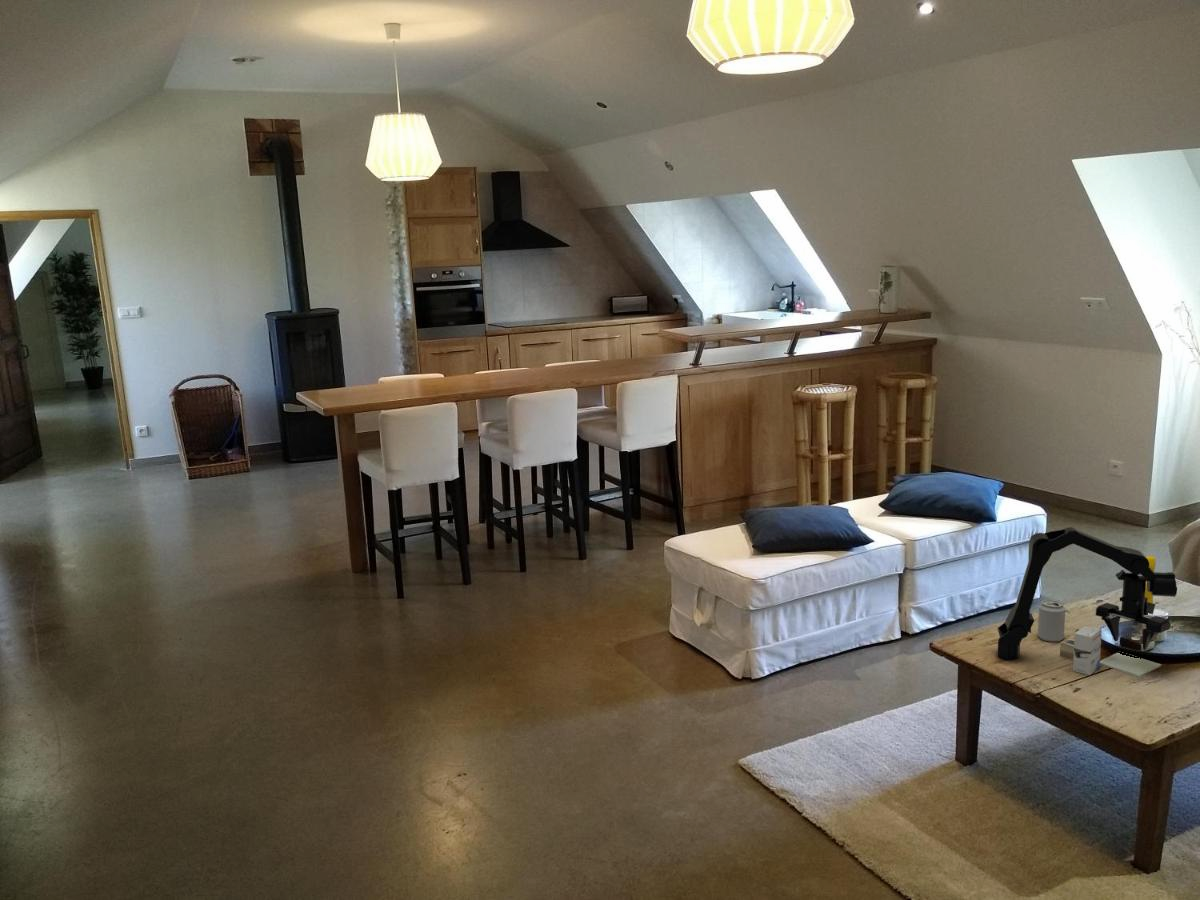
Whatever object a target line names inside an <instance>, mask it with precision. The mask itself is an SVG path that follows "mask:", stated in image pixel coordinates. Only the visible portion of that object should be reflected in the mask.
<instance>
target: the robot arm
mask: <svg viewBox="0 0 1200 900" xmlns="http://www.w3.org/2000/svg"><path fill="white" fill-rule="evenodd" d="M1070 545H1075V546H1078V547H1080V548H1083V549H1084V550H1087V551H1090V552H1092V553H1094V554H1097V555H1099V556H1102V557H1104V558H1106V559H1109V560H1111V561H1112V562H1114V563H1116V564H1117V565H1118V566H1121V568H1123V569H1121V570H1120V571H1119V572H1117V573H1115V577H1116V578H1117V580H1119V581H1122V594H1121V595H1122V596H1120V597H1119V601H1120V602H1121V609H1120V607H1119V605H1116V604H1112V603H1108V602H1105V603H1102V604H1101V605H1098V606H1096V608H1095V616H1097V617H1100V618H1101V620H1103V622H1104V623H1105V624H1106V626H1107V627H1108V630H1109V631H1110V633H1111V637H1112V638H1113V640H1114V642H1118V641H1119V635H1120V634H1119V633H1120V632H1119V631H1120V628H1119V627H1120V620H1121V618H1122V619H1125V620H1127V621H1128V620H1130V621H1132V622H1136V623H1139V624H1144V625H1145V628H1144V629H1142V650H1143V651H1145V650H1146V651H1147V649H1148V647H1149V645H1150V644H1151V641H1152V640H1153V637H1154V636H1155V634H1157V633H1158V634H1161V633H1164V632H1166V631H1168V630H1170V629H1171V622H1170V620H1169V619H1168V618H1165V617H1163V616H1162V617H1161V616H1159V615H1155V616H1153V617H1150V618H1149V617H1148V618H1146V617H1144V615H1148V613H1149V615H1154V611H1155V607H1156V604H1155V603H1154V602H1153V603H1149V602H1147V601H1148V599H1147V597H1145V590H1146V581H1147V591H1148V592H1151V594H1152V595H1153V597H1154V596H1155V597H1169V598H1170V597H1174V598H1175V597H1176V596H1177V593H1178V587H1177V580H1176V574H1175V573H1174V572H1172V571H1171V572H1157V571H1154V572H1153V571H1152V569H1151V568H1149V561H1148V559H1147V558H1146V555H1144V553H1143V552H1141V551H1140V550H1139V549H1138V550H1137V549H1134V548H1130V547H1125V546H1118V545H1115V544H1112V543H1109V542H1107V541H1106V540H1105V541H1104V540H1102V539H1099V538H1097V537H1096V536H1095V537H1094V536H1092V535H1090V534H1088V533H1085V532H1083V531H1080V530H1079V529H1076V528H1075V527H1066V528H1062V529H1057V530H1050V531H1047V532H1037V533H1034V534H1032V535H1031V536H1030V538H1029V542H1028V562H1027V565H1026V568H1025V572H1024V575H1023V579H1022V583H1021V585H1020V588H1019V592H1018V596H1017V598H1016V602H1015V604H1014V606H1013V607H1012V608H1011V609H1010V611H1009V613H1008V615H1007V617H1006V619H1005V622H1003V623H1002V624H1000V626H998V627H997V628H996V629H997V632H998V635H999V637H998V640H997V658H998V659H1001V660H1005V661H1016V660H1019V658H1020V654H1021V653H1020V651H1021V643H1022V640H1023V639H1025V638H1027V637H1028V635H1029V634H1032V627H1033V625H1034V623H1035V619H1034V617H1033V614H1032V613H1031V608H1032V605H1033V601H1034V597H1035V595H1036V591H1037V589H1038V584H1039V582H1040V578H1041V574H1042V572H1043V569H1044V567H1045V566H1046V564H1047V563H1048V562H1049V561H1050V558H1051V557H1052V555H1053V553H1055V552H1058V551H1061V550H1063V549H1065V548H1066V547H1068V546H1070ZM1125 570H1126V571H1128V572H1126V571H1125Z"/></svg>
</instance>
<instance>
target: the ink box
mask: <svg viewBox="0 0 1200 900" xmlns="http://www.w3.org/2000/svg"><path fill="white" fill-rule="evenodd" d="M1102 630H1103V629H1102V628H1099V627H1094V626H1089V625H1084V626H1082V627H1081V628H1080V629H1079V630H1077V631H1076V632H1074V639H1073V640H1074V657H1073V660H1072V671H1073V672H1075V673H1076V672H1077V673H1079V674H1083V675H1086V676H1091V675H1092V674H1093V673H1094V672H1095V671H1097V669H1098V668H1100V666H1101V664H1100V661H1101V648H1102V647H1101V646H1102Z"/></svg>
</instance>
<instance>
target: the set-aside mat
mask: <svg viewBox="0 0 1200 900" xmlns="http://www.w3.org/2000/svg"><path fill="white" fill-rule="evenodd" d="M1140 658H1141V657H1139V658H1134V657H1130V656H1126V655H1122V654H1120V653H1118V652H1116V653H1113V654H1112V655H1109V656H1107V657H1105V658H1103V659H1100V666H1104V667H1107V668H1111V669H1114V670H1117V671H1119V672H1123V673H1127V674H1129V675H1132V676H1136V677H1137V678H1140V677H1142V676H1144V675H1146V674H1148V673H1151V672H1152V671H1154V670H1156V669H1158V668H1161V667H1162V664H1161V663H1158V662H1155V661H1151V660H1148V659H1145V658H1141V659H1140Z"/></svg>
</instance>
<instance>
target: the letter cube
mask: <svg viewBox="0 0 1200 900" xmlns="http://www.w3.org/2000/svg"><path fill="white" fill-rule="evenodd" d="M1059 642H1060V646H1059V647H1060V648H1059V657H1062V658H1065V659H1068V660H1071V661H1073V657H1074V639H1071V638H1067V639H1065V640H1061V641H1059Z"/></svg>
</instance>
